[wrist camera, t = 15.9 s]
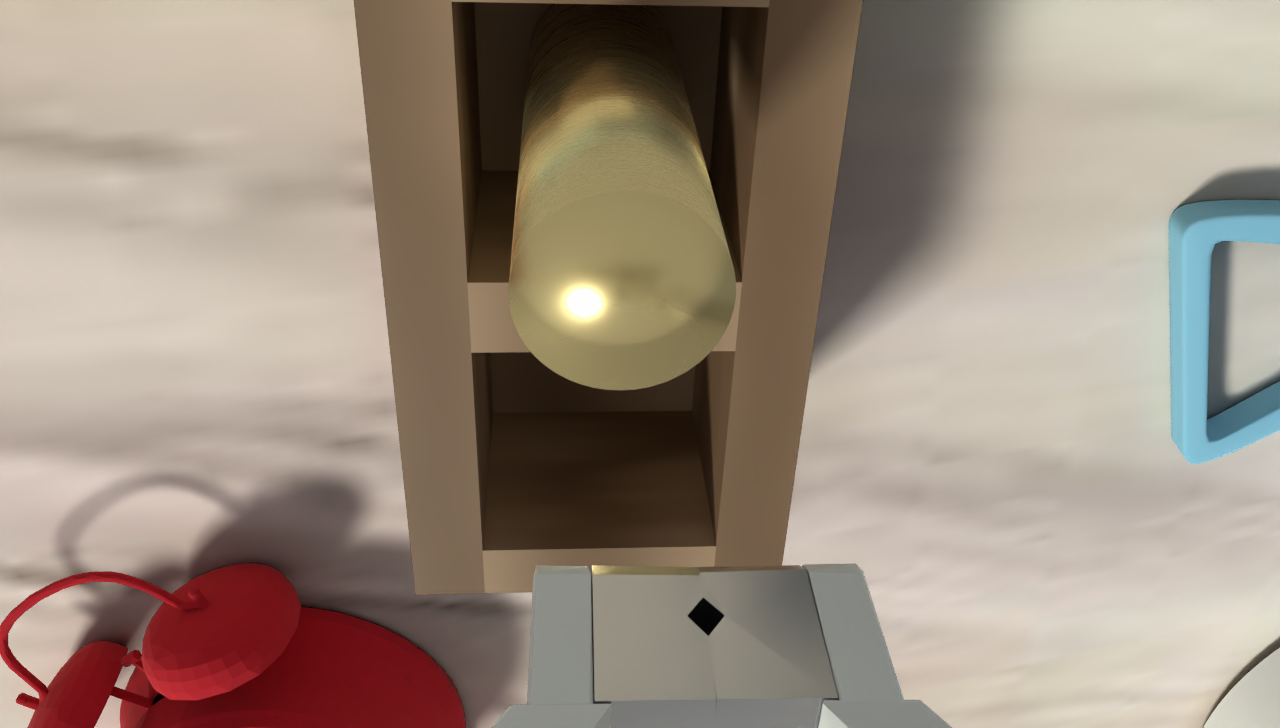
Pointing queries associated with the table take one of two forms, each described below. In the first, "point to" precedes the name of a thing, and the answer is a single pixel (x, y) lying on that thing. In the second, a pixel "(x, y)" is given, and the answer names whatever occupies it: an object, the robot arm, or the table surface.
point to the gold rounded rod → (614, 206)
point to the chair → (1189, 327)
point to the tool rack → (521, 384)
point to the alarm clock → (242, 664)
